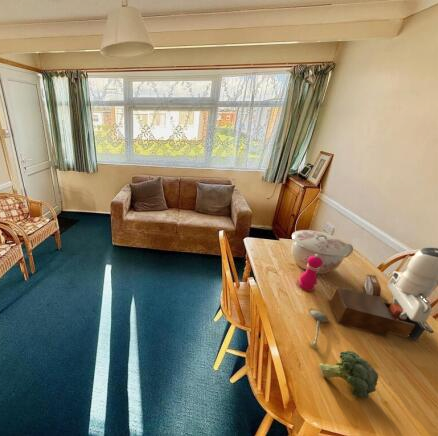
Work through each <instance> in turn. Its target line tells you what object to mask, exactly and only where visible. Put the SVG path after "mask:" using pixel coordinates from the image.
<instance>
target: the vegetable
mask: <svg viewBox="0 0 438 436" xmlns="http://www.w3.org/2000/svg"><path fill="white" fill-rule="evenodd" d="M339 358H340V359H341V360H340V362H337V363H335V364H334V365H333V364H327V363H324V362H322V361H321V362H320V363H318V367H319V370H320V373H321V375H322V377H323V378H340V379H342V380H344V381H346V382H347V383H348V384H349V386H350V387H351V388H352V389H353V390H352V392H351V393H352V395H353V396H354V397H357V398H359V399H368V398H369V396H370V394H371V393H374V392H376V386H377V385H378V383H377V382H378V379H379V373H378V372H377V370H376V369H375V367H373V366H372V365H371V364H370V362H369V361H368V360H366V359H365V358H363V357H361V356H360V355H359V354H358V353H357V352H356V351H353V350H345V351H340V353H339Z"/></svg>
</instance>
